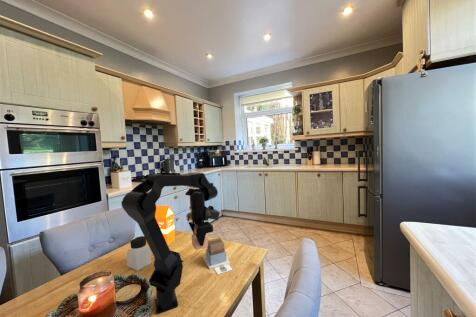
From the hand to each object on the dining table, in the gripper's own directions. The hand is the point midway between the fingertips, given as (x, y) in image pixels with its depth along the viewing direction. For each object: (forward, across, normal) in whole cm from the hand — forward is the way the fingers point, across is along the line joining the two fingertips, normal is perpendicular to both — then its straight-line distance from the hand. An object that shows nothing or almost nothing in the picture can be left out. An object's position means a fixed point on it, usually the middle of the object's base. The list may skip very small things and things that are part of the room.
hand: (199, 242), depth 81 cm
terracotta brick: (+1, 0, 0) cm, 1 cm away
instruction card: (+12, -2, -8) cm, 15 cm away
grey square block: (+12, +5, -8) cm, 15 cm away
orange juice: (+13, +38, +11) cm, 42 cm away
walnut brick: (+8, +5, -8) cm, 12 cm away
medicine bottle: (+12, +19, +23) cm, 32 cm away
